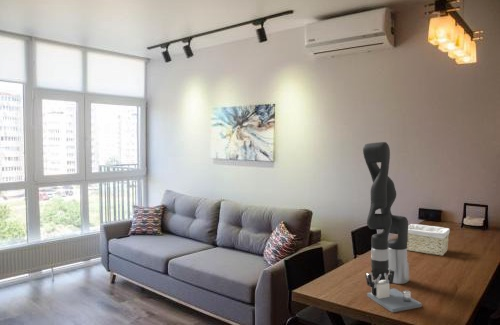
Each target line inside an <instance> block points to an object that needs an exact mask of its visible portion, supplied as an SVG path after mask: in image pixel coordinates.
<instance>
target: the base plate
mask: <svg viewBox="0 0 500 325" xmlns="http://www.w3.org/2000/svg"><path fill="white" fill-rule="evenodd" d="M389 292H390V297H386V298H380V299H379V298H377V297H375V296H374V295H372V294H371V292H366V297H367V298H369V299H371V300H372V301H374V302H375V303H376V304H378V305H380V306H381V307H383V308H385V309H386V310H388V311H389V312H390V313H398V312H403V311H407V310H412V309H417V308H422V305H423V303H422V302H420V301H418V300H416V299H414V298H413V297H411V302H404V301H403V291H400V290H399V289H397V288H394V287H393V288H389Z"/></svg>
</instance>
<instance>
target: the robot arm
mask: <svg viewBox="0 0 500 325" xmlns="http://www.w3.org/2000/svg"><path fill="white" fill-rule="evenodd" d="M362 151H363V152H362V154H363V158H364V162H365V163H366V164H365V165H366V166H367V169H368V171H369V174H370V176H371V180H372V185H371V187H370V207H369V211H368V214H367V215H368V216H367V220H366V225H367V227H368V228H369V229H370V230H381V232H379V233H375V234H372V235H371V241H370V242H371V250H370V265H371V271H370V272H369V273H367V272H366V273H365V278H366V286H368V287H369V288H371V289H372V294H373V295H374V296H376V286H377V285H376V284H378V283H379V281H380V280H383V281H385V282H386V283H389V286H390V285H392V284H396V285H397V284H398V285H403V284H407V283H408V282H410V263H409V262H408V250H407V242H408V226H409V221H408V218H407V217H406V216H403V215H394V214H392V211H391V209H392V206H393V205H394V202H395V200H396V199H397V191H396V186H395V184H394V181H393V180H392V179H391V177H390V176H389V169H390V158H391V157H390V156H391V152H390V151H391V150H390V145H389V144H388V143H387V142H386V141H379V142H378V141H377V142H370V143H366V144H364V145H363V148H362ZM378 163H380V167H379V165H378ZM378 210H380V213H376V211H378ZM390 234H393V235H394V234H395V235H397V237H396V238H393V239H390V240H389V235H390ZM371 289H370V290H371Z"/></svg>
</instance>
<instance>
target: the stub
mask: <svg viewBox="0 0 500 325" xmlns="http://www.w3.org/2000/svg"><path fill="white" fill-rule="evenodd" d="M402 293H403V301H404V302H411V298H412V296H411V295H412V292H411V291H410V290H402Z"/></svg>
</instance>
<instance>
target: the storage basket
mask: <svg viewBox="0 0 500 325" xmlns="http://www.w3.org/2000/svg"><path fill="white" fill-rule="evenodd" d="M450 230H451V229H450V228H448V227H442V226H434V225H426V224H416V223H410V224H408V242H407V251H411V252H415V253H422V254H427V255H434V256H444V255H445V254H446V253H447V251H448V249H449V248H448V247H449V245H448V244H449V234H450Z"/></svg>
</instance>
